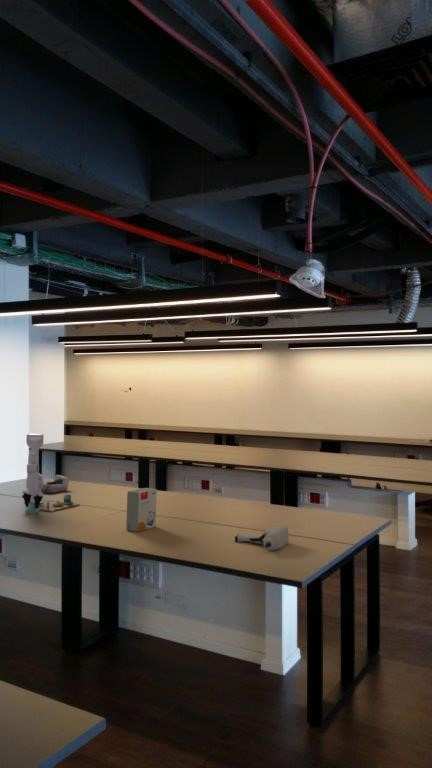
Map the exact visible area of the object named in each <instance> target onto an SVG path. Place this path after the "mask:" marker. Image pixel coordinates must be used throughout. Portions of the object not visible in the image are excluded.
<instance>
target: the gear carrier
mask: <svg viewBox="0 0 432 768" xmlns="http://www.w3.org/2000/svg"><path fill="white" fill-rule="evenodd" d="M79 506H80V503H76V502H74V500H72V494H69V493H66V494H64V495H63V500H62V501H59V500H56V501H53V502H52V504H50V501H46V504H45V505H42V506H39V508H36V509H38V510H39V512H40V511H42V512H46V513H54V512H58V511H63V510H66V509H67V510H68V509H71V508H75V507H79Z"/></svg>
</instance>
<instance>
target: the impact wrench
mask: <svg viewBox="0 0 432 768" xmlns="http://www.w3.org/2000/svg"><path fill="white" fill-rule="evenodd" d="M289 535H290V534H289V529H288V527H287V526H276V527H275V526H274V527H269V528H268V529H267V530H265V531H264V532H263V533H262V534H256V535H252V534H243V533H238V534H237V535H236V536H235V535H234V542H235V543H236V542H237V543H242V542H255V543H256V542H257V543H260V544H262V545H263V546H264V547H265V549H266V550H267V551H270V552H271V551H277V550H279V549H281V548H283V547H284V546H285V545H287V544H288V543H289V542H290V540H289Z"/></svg>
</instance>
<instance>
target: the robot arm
mask: <svg viewBox="0 0 432 768" xmlns="http://www.w3.org/2000/svg"><path fill="white" fill-rule="evenodd" d="M25 442H26V446H27V447H29V448H30V453H29V454H28V459H27V461H28V462H27V465H26V474H27V475H26V483H25V484H26V485H25V486H26V489H25V490H22V495H21V497H22V499H23V501H24V502H23V504H25V508H28V503H31V502H35V508H39V507H40V504H43V503H44V501H42V499H43V497H44V492H41V488H42V487H43V483H44V476H43V475H42V474H41V473H40V472H39V471H40V464H39V460H40V459H39V458H40V457H39V454H40V452H39V451H40V449H41V447H43V445H44V434H43V433H27V434H26V441H25Z"/></svg>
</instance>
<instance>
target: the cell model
mask: <svg viewBox="0 0 432 768" xmlns="http://www.w3.org/2000/svg"><path fill="white" fill-rule="evenodd" d="M69 480H70V479H69V477H68V476H64V475H61V474H56V475H55V476H54V479H53V481H47V482H44V481H43V487H42V488H41V492H42V493H43V494H55V493H58V492H63V491H67V490H68V489H69V482H70V481H69Z"/></svg>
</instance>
